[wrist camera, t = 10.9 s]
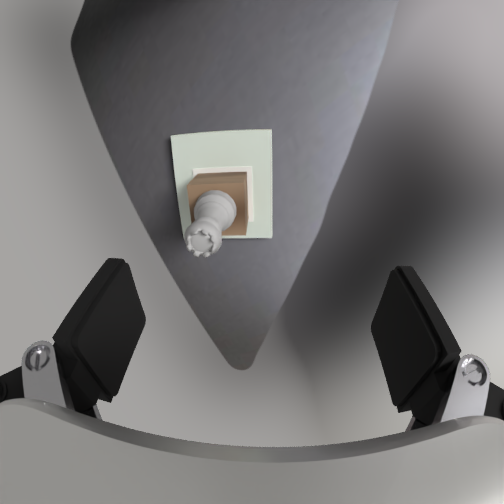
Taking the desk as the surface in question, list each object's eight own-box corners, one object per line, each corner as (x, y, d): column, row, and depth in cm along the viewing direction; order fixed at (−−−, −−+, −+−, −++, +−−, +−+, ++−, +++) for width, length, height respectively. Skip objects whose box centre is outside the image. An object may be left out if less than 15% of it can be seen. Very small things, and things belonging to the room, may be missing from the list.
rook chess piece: (201, 229, 30) (182, 270, 23) (191, 192, 28) (167, 223, 21) (240, 224, 29) (232, 264, 23) (232, 185, 27) (221, 215, 20)
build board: (173, 135, 30) (170, 136, 29) (271, 129, 30) (271, 129, 29) (185, 235, 37) (183, 239, 36) (272, 234, 37) (272, 238, 36)
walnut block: (197, 173, 32) (186, 185, 27) (246, 171, 31) (243, 182, 27) (202, 218, 35) (193, 236, 30) (248, 217, 34) (246, 235, 30)
